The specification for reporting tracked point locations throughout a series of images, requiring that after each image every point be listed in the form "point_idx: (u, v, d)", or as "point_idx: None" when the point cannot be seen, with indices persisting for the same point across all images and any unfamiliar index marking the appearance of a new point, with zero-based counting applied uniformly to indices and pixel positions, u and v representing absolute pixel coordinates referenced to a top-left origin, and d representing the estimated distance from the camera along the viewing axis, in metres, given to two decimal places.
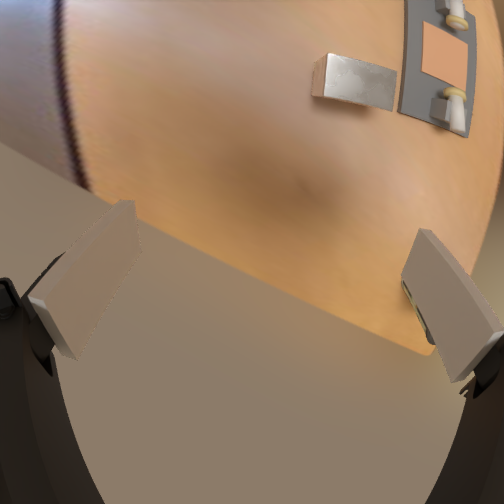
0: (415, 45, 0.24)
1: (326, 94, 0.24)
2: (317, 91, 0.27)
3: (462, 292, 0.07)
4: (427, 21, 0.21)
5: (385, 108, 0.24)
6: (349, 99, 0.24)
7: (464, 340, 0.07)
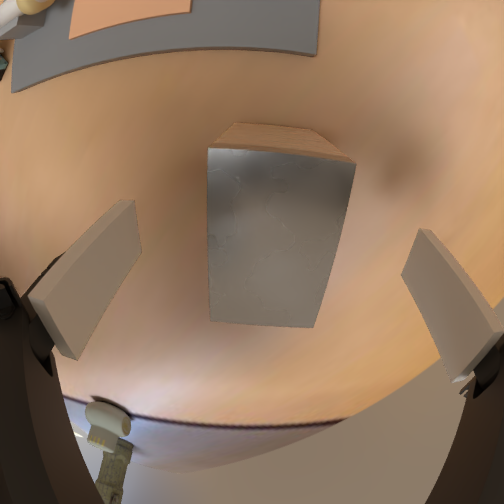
0: (129, 36, 0.11)
1: (310, 324, 0.13)
2: None
3: (462, 292, 0.07)
4: (68, 30, 0.10)
5: (347, 186, 0.09)
6: (323, 283, 0.11)
7: (464, 340, 0.07)
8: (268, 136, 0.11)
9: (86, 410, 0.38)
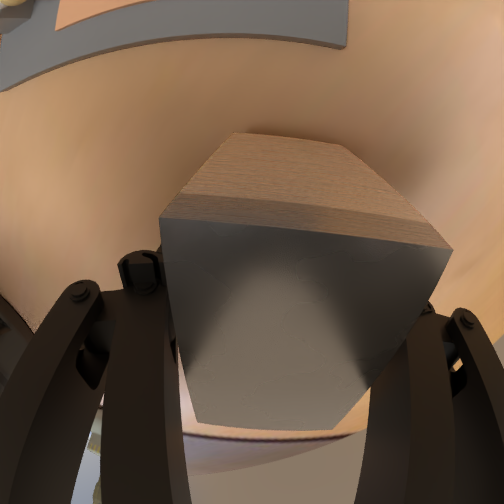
0: (121, 24, 0.09)
1: (329, 427, 0.08)
2: None
3: None
4: (55, 21, 0.08)
5: (429, 288, 0.04)
6: (356, 398, 0.07)
7: None
8: (285, 166, 0.07)
9: None
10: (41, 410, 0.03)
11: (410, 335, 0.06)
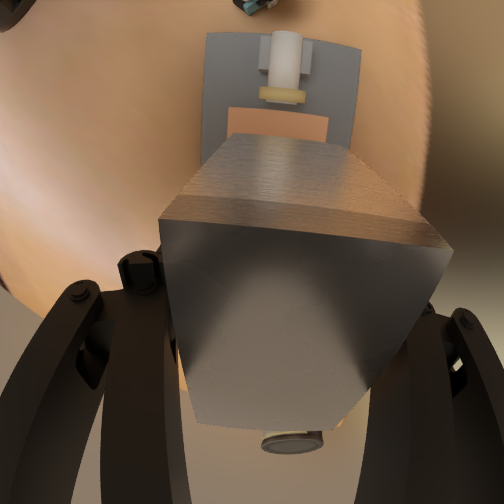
0: None
1: (329, 428, 0.08)
2: None
3: None
4: (239, 103, 0.22)
5: (429, 289, 0.04)
6: (356, 399, 0.07)
7: None
8: (285, 166, 0.07)
9: None
10: (41, 410, 0.03)
11: (410, 335, 0.06)
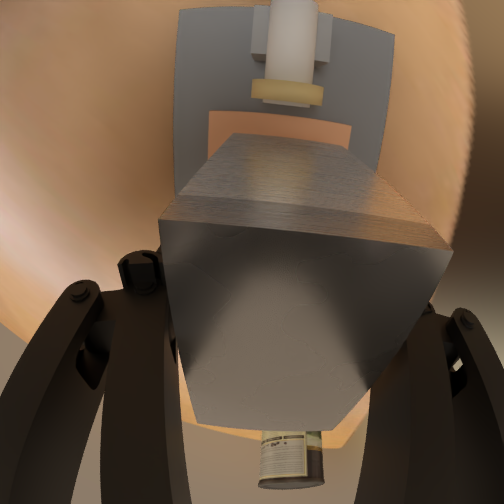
0: None
1: (329, 428, 0.08)
2: None
3: None
4: (224, 104, 0.15)
5: (429, 289, 0.04)
6: (356, 399, 0.07)
7: None
8: (285, 167, 0.07)
9: None
10: (41, 410, 0.03)
11: (410, 335, 0.06)
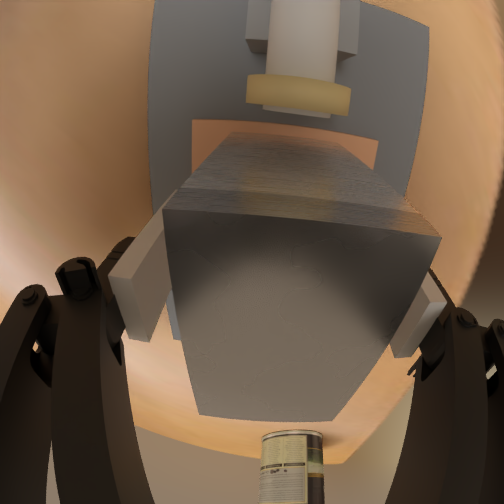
0: None
1: (329, 418, 0.08)
2: None
3: None
4: (212, 111, 0.12)
5: (420, 275, 0.05)
6: (354, 387, 0.07)
7: None
8: (281, 162, 0.07)
9: None
10: (3, 406, 0.03)
11: (457, 345, 0.05)
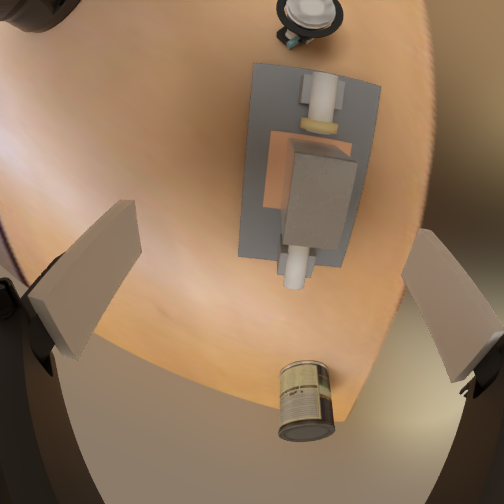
0: (256, 172, 0.30)
1: (336, 247, 0.23)
2: None
3: (462, 292, 0.07)
4: (280, 127, 0.27)
5: (354, 173, 0.20)
6: (343, 221, 0.22)
7: (464, 340, 0.07)
8: (315, 148, 0.22)
9: None
10: None
11: None
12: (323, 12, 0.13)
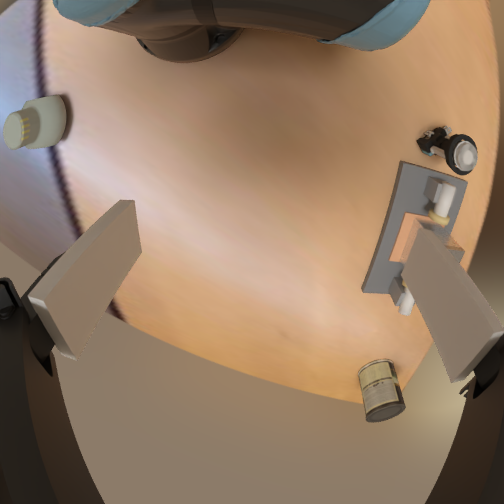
0: (390, 238, 0.40)
1: None
2: None
3: (462, 292, 0.07)
4: (410, 210, 0.37)
5: (461, 256, 0.30)
6: None
7: (464, 340, 0.07)
8: (440, 236, 0.32)
9: (53, 98, 0.27)
10: None
11: None
12: (472, 162, 0.23)
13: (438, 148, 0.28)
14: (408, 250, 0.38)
